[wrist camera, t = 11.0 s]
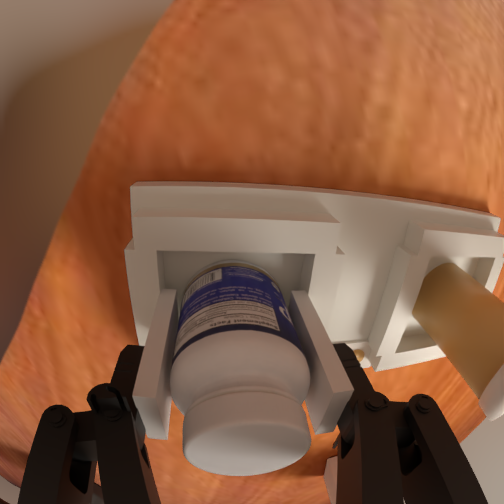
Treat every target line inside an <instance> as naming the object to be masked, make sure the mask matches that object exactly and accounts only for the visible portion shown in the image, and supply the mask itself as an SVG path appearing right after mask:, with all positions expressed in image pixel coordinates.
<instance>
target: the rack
mask: <svg viewBox="0 0 504 504" xmlns="http://www.w3.org/2000/svg"><path fill="white" fill-rule="evenodd" d="M130 200H131V219H132V233H133V238H132V239H131V241H130V242H129V243H128V245H127V246H126V248H125V249H124V253H125V262H126V270H127V278H128V285H129V291H130V298H131V304H132V310H133V316H134V321H135V327H136V332H137V337H138V342H139V346H145V343H146V339H147V336H148V332H149V328H150V325H151V321H152V318H153V315H154V311H155V308H156V304H157V301H158V298H159V295H160V292H161V289H177V302H178V316H180V309H181V302H182V298H183V294H184V291H185V288H186V286H187V284H188V283H189V281H190V280H191V279H192V278H193V276H194V275H195V274H196V273H198V272H199V271H200V270H202V269H203V268H205V267H207V266H209V265H211V264H214V263H217V262H220V261H226V260H240V261H246V262H249V263H253V264H255V265H257V266H259V267H261V268H263V269H264V270H266V271H267V272H268V273H269V274H270V275H271V276H272V277H273V278H274V279H275V281H276V282H277V284H278V286H279V288H280V290H281V293H282V295H283V298H284V301H285V304H286V306H287V309H288V308H289V302H290V295H291V291H305V290H306V292H307V294H308V296H309V298H310V300H311V302H312V304H313V306H314V308H315V310H316V312H317V314H318V316H319V318H320V320H321V322H322V324H323V326H324V328H325V330H326V332H327V334H328V336H329V338H330V340H331V342H332V344H337V343H345V344H346V345H348V346H349V347H350V348H351V349H352V350H353V352H354V353H355V355H356V357H357V360H358V361H359V363H360V364H361V367H362V368H368V367H370V366H372V367H373V369H374V371H375V372H376V371H382V370H387V369H392V368H397V367H402V366H407V365H412V364H416V363H421V362H425V361H429V360H433V359H437V358H441V357H445V356H446V357H447V358H448V359H449V360H450V362H451V363H452V364H453V365H454V367H455V368H456V369H457V371H458V372H459V373H460V374H461V376H462V377H463V378H464V380H465V381H466V382H467V384H468V385H469V386H470V388H471V389H472V390H473V392H474V393H475V394H476V396H477V397H478V399H479V406H480V408H481V409H482V411H483V412H484V413H485V415H486V416H487V418H488V419H489V421H492V420H495V419H497V418H499V417H500V416H502V415H503V414H504V303H503V302H502V301H501V300H500V299H499V298H497V297H496V296H495V295H494V294H493V293H492V292H493V290H494V287H495V285H496V282H497V279H498V277H499V274H500V271H501V268H502V265H503V263H504V257H503V253H504V236H503V235H502V234H500V233H498V228H499V224H500V220H501V218H500V217H498V216H496V215H494V214H492V213H488V212H483V211H478V210H473V209H468V208H463V207H457V206H452V205H446V204H440V203H435V202H428V201H422V200H416V199H409V198H402V197H395V196H387V195H380V194H371V193H363V192H354V191H345V190H335V189H324V188H313V187H301V186H287V185H272V184H254V183H231V182H191V181H147V182H136V183H134V184H133V185H131V186H130Z"/></svg>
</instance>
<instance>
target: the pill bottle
mask: <svg viewBox="0 0 504 504" xmlns="http://www.w3.org/2000/svg"><path fill="white" fill-rule="evenodd" d="M309 387H310V371H309V367H308V364H307V360H306V357H305V355H304V352H303V349H302V347H301V344H300V341H299V339H298V336H297V333H296V331H295V328H294V325H293V322H292V320H291V317H290V314H289V311H288V309H287V306H286V304H285V301H284V298H283V295H282V293H281V290H280V288H279V286H278V284H277V282H276V281H275V279H274V278H273V277H272V276H271V275H270V274H269V273H268V272H267V271H266V270H264V269H263V268H261V267H259V266H257V265H255V264H253V263H249V262H246V261H240V260H226V261H220V262H217V263H214V264H211V265H209V266H207V267H205V268H203V269H202V270H200V271H199V272H198V273H196V274H195V275H194V276H193V278H192V279H191V280H190V281H189V283H188V284H187V286H186V288H185V291H184V294H183V298H182V302H181V309H180V316H179V322H178V329H177V335H176V341H175V346H174V352H173V359H172V366H171V374H170V392H171V396H172V399H173V401H174V403H175V405H176V406H177V408H178V409H179V410H180V411H181V413H182V414H183V415H184V416H185V417H184V421H183V453H184V456H185V458H186V459H187V460H188V461H189V462H190V463H191V464H192V465H194V466H195V467H197V468H199V469H202V470H204V471H207V472H211V473H215V474H220V475H229V476H249V475H258V474H263V473H268V472H272V471H275V470H278V469H281V468H284V467H286V466H289V465H291V464H292V463H294V462H296V461H298V460H299V459H300V458H302V457H303V456H304V455H305V454H306V453H307V451H308V450H309V448H310V446H311V436H310V432H309V427H308V423H307V419H306V414H305V411H304V410H303V408H302V405H301V404H302V403H303V401H304V400H305V398H306V396H307V394H308V391H309Z"/></svg>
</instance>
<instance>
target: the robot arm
mask: <svg viewBox="0 0 504 504" xmlns="http://www.w3.org/2000/svg"><path fill="white" fill-rule="evenodd" d="M288 311H289V314H290V317H291V320H292V322H293V325H294V328H295V331H296V333H297V336H298V339H299V341H300V344H301V347H302V349H303V352H304V355H305V357H306V360H307V364H308V367H309V371H310V387H309V391H308V394H307V396H306V398H305V402H306V406H307V409H308V412H309V416H310V419H311V422H312V425H313V429H314V432H315V435H316V434H322V433H328V432H333V431H334V429H335V427H336V425H338V427H339V430H340V434H339V435H338V437H337V439H336V441H335V442H334V444H333V448H336V446H337V444H338V456H337V491H336V504H404V502H403V497H404V500H405V503H406V504H488V502H487V500H486V498H485V496H484V493H483V491H482V489H481V487H480V484H479V483H478V480H477V478H476V476H475V474H474V472H473V470H472V468H471V466H470V464H469V462H468V460H467V458H466V456H465V454H464V452H463V450H462V449H461V447H460V444H459V443H458V441H457V439H456V437H455V435H454V433H453V432H452V430H451V428H450V426H449V424H448V423H447V421H446V419H445V417H444V415H443V414H442V412H441V410H440V409H439V407H438V405H437V403H436V402H435V401H434V400H433V398H431V397H430V396H428V395H425V394H416V395H414V396H412V398H411V399H410V400H409V402H393V401H389V399H388V398H387V397H386V396H385V395H383V394H381V393H379V392H375V391H374V389H373V387H372V385H371V383H370V381H369V379H368V378H367V376H366V374H365V372H364V370H363V368H362V367H361V364H360V363H359V361H358V360H357V357H356V355H355V353H354V352H353V350H352V349H351V348H350V347H349V346H348V345H346V344H345V343H337V344H332V342H331V340H330V338H329V336H328V334H327V332H326V330H325V328H324V326H323V324H322V322H321V320H320V318H319V316H318V314H317V312H316V310H315V308H314V306H313V304H312V302H311V300H310V298H309V296H308V294H307V292H306V290H305V291H291V295H290V302H289V308H288ZM178 322H179V316H178V302H177V289H161V292H160V295H159V298H158V301H157V304H156V308H155V311H154V315H153V318H152V321H151V325H150V328H149V332H148V336H147V339H146V343H145V346H137V345H127V346H126V347H125V348H124V349H123V350H122V351H121V352H120V355H119V358H118V361H117V364H116V367H115V371H114V373H113V376H112V379H111V382H110V383H104V384H100V385H97V386H95V387H94V388H92V389H91V391H90V392H89V393H88V396H87V401H88V403H89V405H90V407H91V409H92V410H91V411H85V412H75V413H72V411H71V410H70V409H69V408H68V407H66V406H64V405H53V406H50V407H49V408H47V409H46V410H45V411H44V413H43V414H42V416H41V419H40V422H39V425H38V428H37V431H36V434H35V437H34V441H33V444H32V447H31V450H30V454H29V457H28V461H27V465H26V468H25V472H24V476H23V480H22V485H21V489H20V494H19V499H18V504H161V502H160V498H159V495H158V491H157V488H156V484H155V481H154V477H153V473H152V469H151V465H150V461H149V457H148V452H147V448H146V445H145V443H144V439H145V432H146V434H147V437H148V438H153V439H163V440H168V430H169V420H170V410H171V400H172V396H171V392H170V374H171V366H172V359H173V352H174V346H175V341H176V335H177V329H178ZM97 461H98V467H99V474H100V481H101V487H100V486H98V485H97V484H95V483H94V479H95V472H96V465H97ZM0 504H9V503H7V502H6V501H4V500H2V499H1V498H0Z"/></svg>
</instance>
